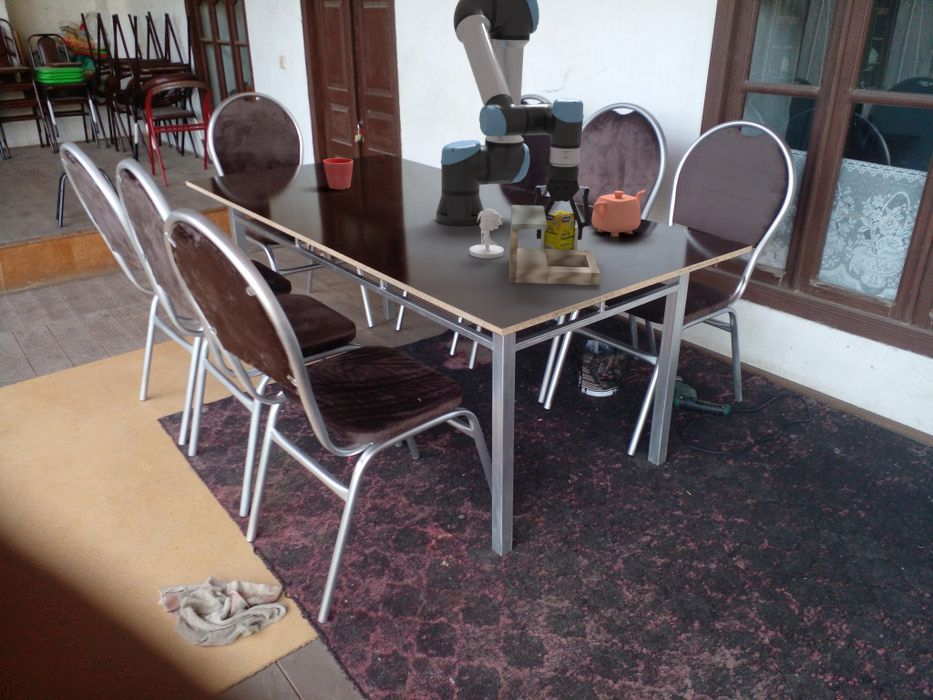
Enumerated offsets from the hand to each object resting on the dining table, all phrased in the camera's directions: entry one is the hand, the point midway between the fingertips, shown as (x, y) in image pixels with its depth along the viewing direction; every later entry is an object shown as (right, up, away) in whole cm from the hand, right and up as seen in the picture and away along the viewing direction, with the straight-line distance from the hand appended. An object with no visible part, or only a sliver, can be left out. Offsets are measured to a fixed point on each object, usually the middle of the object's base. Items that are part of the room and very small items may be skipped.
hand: (558, 250), depth 187 cm
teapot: (+20, +8, +21) cm, 31 cm away
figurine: (-19, -1, 0) cm, 19 cm away
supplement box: (0, -1, 0) cm, 1 cm away
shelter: (-3, -7, -13) cm, 15 cm away
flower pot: (-71, +33, +72) cm, 107 cm away
